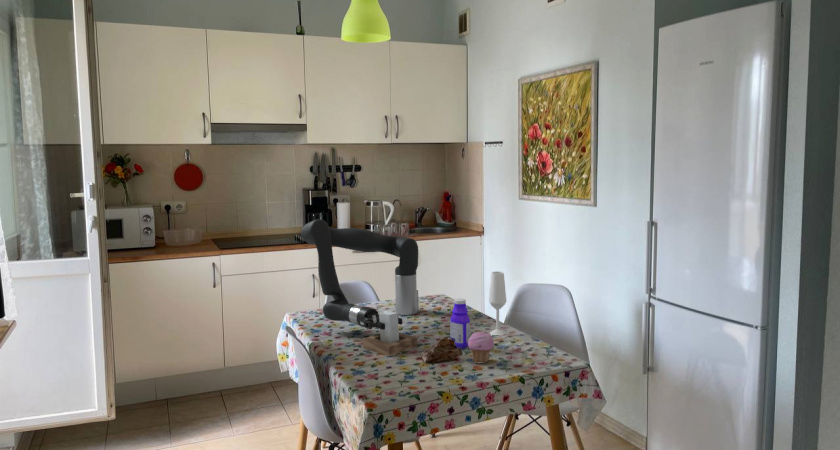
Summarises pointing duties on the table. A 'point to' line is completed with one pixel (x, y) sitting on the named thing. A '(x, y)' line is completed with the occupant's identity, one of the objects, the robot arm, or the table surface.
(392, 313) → the skincare box
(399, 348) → the walnut socket block
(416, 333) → the table surface
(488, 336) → the cupcake
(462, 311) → the bottle
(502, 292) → the champagne flute
